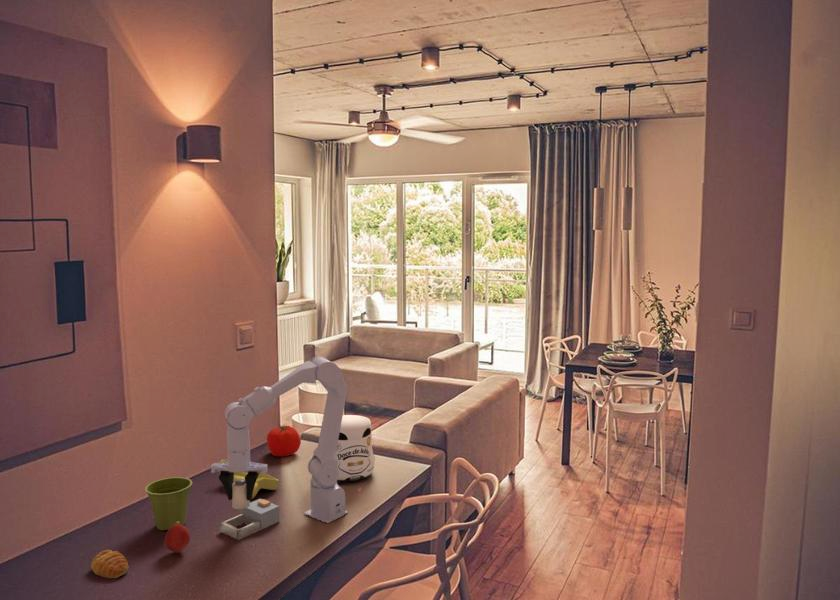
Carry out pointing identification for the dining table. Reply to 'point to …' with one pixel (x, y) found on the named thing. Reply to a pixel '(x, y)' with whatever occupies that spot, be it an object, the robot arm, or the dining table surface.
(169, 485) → the plant pot
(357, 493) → the dining table surface
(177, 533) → the onion
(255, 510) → the block
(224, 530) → the beige tray
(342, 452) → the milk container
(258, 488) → the plastic component
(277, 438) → the tomato
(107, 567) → the pastry
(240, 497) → the cream capped bottle
